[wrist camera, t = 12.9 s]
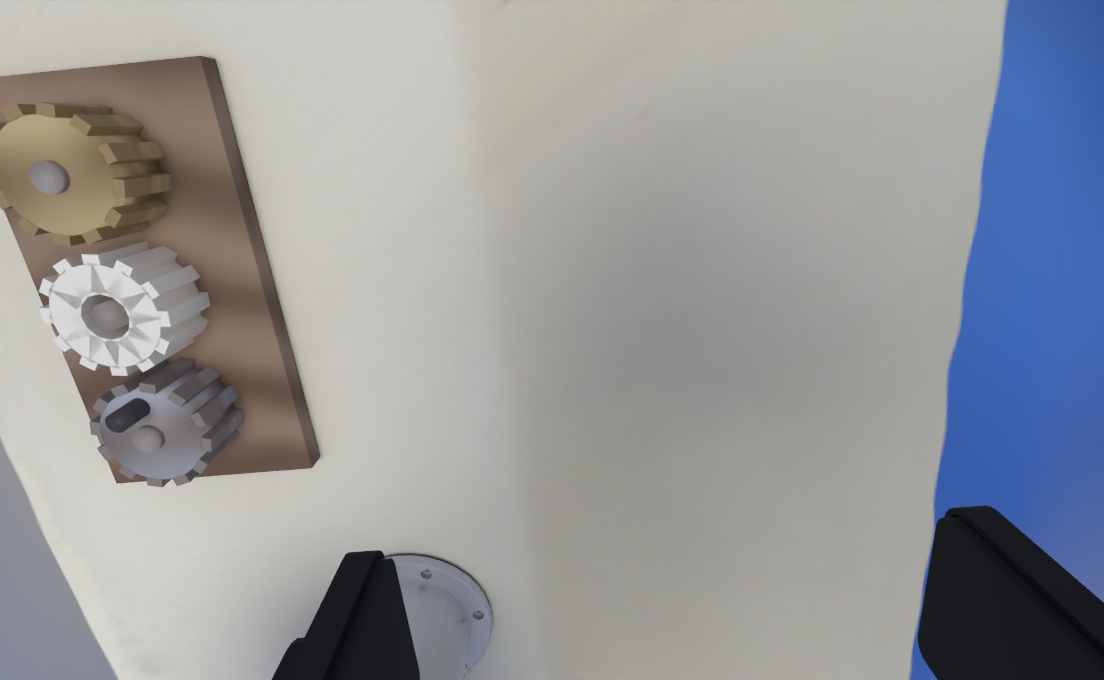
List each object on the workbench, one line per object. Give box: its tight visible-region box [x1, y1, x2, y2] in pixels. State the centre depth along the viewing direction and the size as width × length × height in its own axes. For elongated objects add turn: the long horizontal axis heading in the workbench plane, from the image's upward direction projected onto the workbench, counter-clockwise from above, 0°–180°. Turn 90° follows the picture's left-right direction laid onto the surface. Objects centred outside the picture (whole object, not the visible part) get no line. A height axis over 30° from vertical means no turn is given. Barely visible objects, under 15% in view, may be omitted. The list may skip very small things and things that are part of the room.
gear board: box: [0, 56, 320, 487], centre depth 34 cm, size 26×14×8 cm, turn 5°
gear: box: [39, 241, 210, 376], centre depth 34 cm, size 7×7×4 cm
